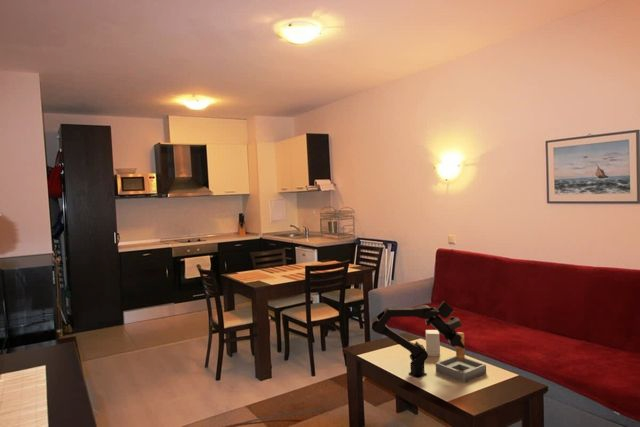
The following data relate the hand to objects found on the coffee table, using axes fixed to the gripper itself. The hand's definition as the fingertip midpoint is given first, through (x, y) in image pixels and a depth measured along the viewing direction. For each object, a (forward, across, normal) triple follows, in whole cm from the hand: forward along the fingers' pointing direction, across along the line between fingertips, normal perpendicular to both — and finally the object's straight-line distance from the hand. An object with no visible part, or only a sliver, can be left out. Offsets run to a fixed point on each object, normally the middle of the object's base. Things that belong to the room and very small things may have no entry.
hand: (462, 346), depth 216 cm
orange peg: (+4, 0, +6) cm, 7 cm away
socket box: (+9, 0, +10) cm, 14 cm away
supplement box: (+4, +27, +16) cm, 31 cm away
